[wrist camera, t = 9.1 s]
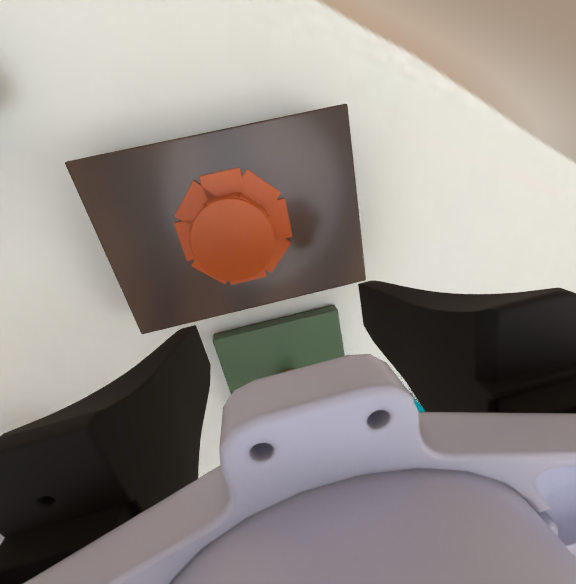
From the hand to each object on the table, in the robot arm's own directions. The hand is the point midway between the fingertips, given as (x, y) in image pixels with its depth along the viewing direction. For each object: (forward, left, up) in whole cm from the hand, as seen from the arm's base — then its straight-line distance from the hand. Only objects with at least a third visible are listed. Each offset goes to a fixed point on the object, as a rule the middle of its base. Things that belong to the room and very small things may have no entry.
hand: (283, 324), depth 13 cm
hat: (-1, +3, -8) cm, 8 cm away
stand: (-1, +3, -10) cm, 11 cm away
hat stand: (0, -10, -10) cm, 14 cm away
